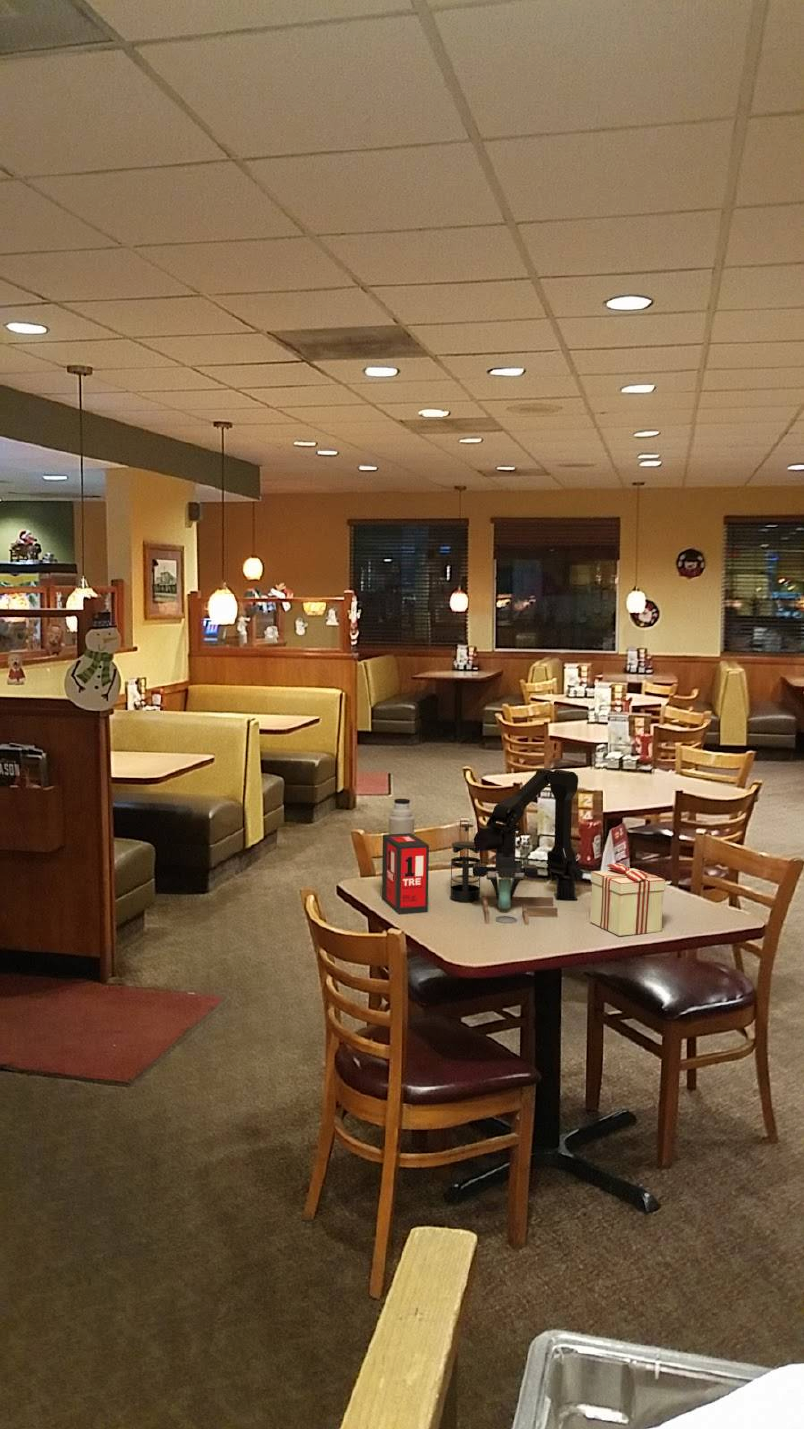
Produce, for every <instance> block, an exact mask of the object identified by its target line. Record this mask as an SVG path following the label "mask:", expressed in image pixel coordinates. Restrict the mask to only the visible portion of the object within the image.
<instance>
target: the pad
mask: <svg viewBox="0 0 804 1429" xmlns="http://www.w3.org/2000/svg"><path fill="white" fill-rule="evenodd" d="M517 920H518V919H517V917H514V916H509V915H501V916H500V915H499V916H496V917H495V921H496V922H498V923H502V924H513V923H516V922H517Z"/></svg>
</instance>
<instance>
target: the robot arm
mask: <svg viewBox="0 0 804 1429" xmlns="http://www.w3.org/2000/svg"><path fill="white" fill-rule="evenodd" d="M548 785H549V788H550V792H551V793H552V796H553V798H554V801H555V802H554V807H555V808H554V844H553V845H554V846H553V847H552V848H551V850H548V851H547V853H546V856H547V857H546V858H547V860H546V864H547V866H548V869H549V872H550V877H554V878H556V892H554V893H553V895H554V897H555V900H556V901H578V897H577V895H576V885H577V884H576V882H579V881H581V880H582V879H583V876H584V873H583V870H581V868H580V867H579V865H577V856H576V853H575V852H574V849H573V847H572V813H573V812H572V811H573V810H572V808H573V806H572V805H573V803H572V802H573V799H574V797H575V795H576V793H577V792H578V787H579V775H577V774H576V773H575V771H569V770H564V769H560V768H559V769H557V768H556V769H554V770H553V769H552V770H551V769H547V768H539V769H537V770H536V771H535V774H534V775H533V776H532V777H531V778H530V779H529V780H528V781H527V782H526V783H525V784H524V785H523V786H522V787H520V789H518V791H517V792H516V793H515V794H513V795H512V796H510V797H507V798H504V799H502V800H501V801H500V802H498V803H496V805H494V808H493V809H492V810H493V811H492V812H491V814H490V816H489V818H488V819H487V822H486V824H485V827H484V826H480V827H479V829H478V831H477V832H476V833H475V835H474V837H473V842H474V845H475V847H476V849H477V850H479V852H488V851H492V850H495V865H494V866H487V863H484V862H481V863H476V862H473V863H474V864H473V868H472V875H473V876H475V877H480V878H485V877H486V880H490V882H491V884H492V886H493V889H494V893H495V896H496V897H497V900H498V899H499V893H498V892H499V883H498V878H499V879H505V878H507V879H511V894H510V900H512V898H513V897H514V895H515V892H516V889H517V887H518V886H519V883H520V882H522V881H525V877H526V878H527V879H538V878H539V869H538V867H537V865H536V864H534V863H533V864H529V863H527V864H526V863H523V861H522V860H516V849H517V848H516V847H517V846H516V845H517V832H519V831H522V827H521V826H520V825H518V823H519V822H520V821H521V819H522V818H523V816H524V814H525V810H526V808H527V807H528V806H529V804H531V802H533V801H534V799H536V798H537V796H539V794H541V793H542V791H544V789H546V788H547V786H548ZM524 876H525V877H524Z"/></svg>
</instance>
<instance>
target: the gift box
mask: <svg viewBox="0 0 804 1429" xmlns="http://www.w3.org/2000/svg"><path fill="white" fill-rule="evenodd" d="M606 867H607V868H608V869H606V870H595V871H591V872H590V882H591V895H590V896H591V898H590V900H591V901H590V919H589V922H590V923H591V924H592V925H595V926H597V927H599V928H601V929H603V930H604V931H608V932H610V933H612V934H614V935H616V936H619V937H623V936H624V937H625V936H633V935H642V934H649V933H650V934H651V933H659V932H662V926H663V924H662V923H663V906H664V892H665V891H666V879H665V878H664V877H663V878H662V877H659V876H657V875H655V874H650V873H648V872H645V871H643V870H639V869H637V868H633V867H632V868H630V866H626V865H625V864H624V863H621V862H614V863H608V864H606Z"/></svg>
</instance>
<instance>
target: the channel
mask: <svg viewBox="0 0 804 1429" xmlns="http://www.w3.org/2000/svg"><path fill="white" fill-rule="evenodd" d="M481 901H482V902H481V903H482V910H483V915H484V920H485V924H486V925H489V924H490V915H491V914H490V910H489V906H498V900H497V897H496V895H482V900H481ZM511 906H514V907H522V911H521V912H522V914H521V917H522V918H523V919H522V920H523V922H524V925H527V926H528V925H529V918H530V917H532V918H533V917H534V918H535V917H537V918H538V917H540V918H542V917H543V918H558V907H554V897H551V896H549V897H547V896H545V897H543V896H542V897H541V896H513V898H512V900H510V907H511Z"/></svg>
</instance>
